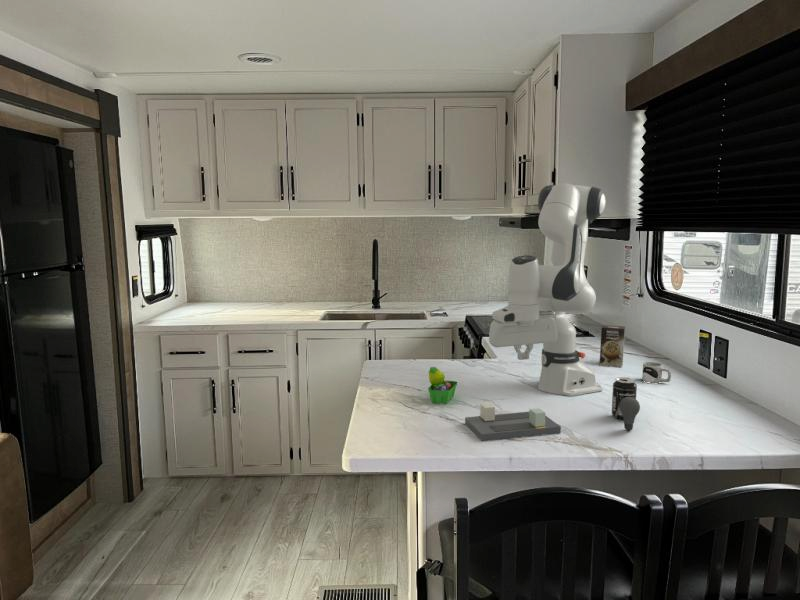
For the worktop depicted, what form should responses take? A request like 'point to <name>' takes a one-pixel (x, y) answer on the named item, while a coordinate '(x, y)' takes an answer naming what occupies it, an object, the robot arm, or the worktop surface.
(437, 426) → the worktop surface
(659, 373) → the mug
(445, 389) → the fruit basket
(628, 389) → the beverage can
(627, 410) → the light bulb
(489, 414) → the cream tab
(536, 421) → the sage tab
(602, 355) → the coffee box
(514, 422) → the switch panel
